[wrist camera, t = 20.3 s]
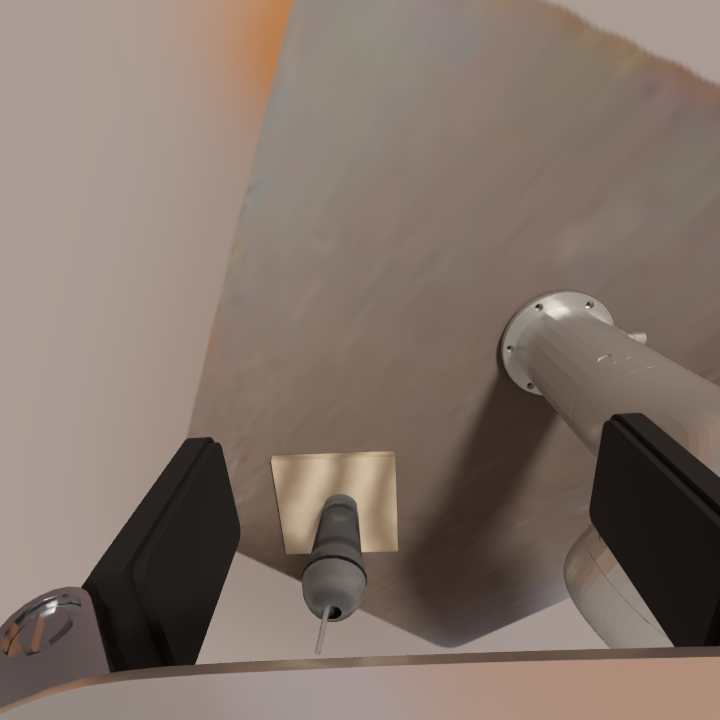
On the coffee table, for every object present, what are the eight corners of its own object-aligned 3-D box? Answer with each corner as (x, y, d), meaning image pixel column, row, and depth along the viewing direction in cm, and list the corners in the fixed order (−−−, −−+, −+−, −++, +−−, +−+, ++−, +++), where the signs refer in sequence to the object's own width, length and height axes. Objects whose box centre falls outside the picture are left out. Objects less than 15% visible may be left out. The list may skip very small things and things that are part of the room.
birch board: (394, 451, 56) (395, 456, 54) (397, 544, 62) (397, 551, 60) (272, 455, 56) (271, 461, 55) (287, 547, 62) (286, 554, 61)
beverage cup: (342, 536, 60) (330, 694, 41) (302, 507, 58) (271, 658, 39) (378, 507, 58) (383, 659, 39) (339, 476, 56) (324, 620, 37)
